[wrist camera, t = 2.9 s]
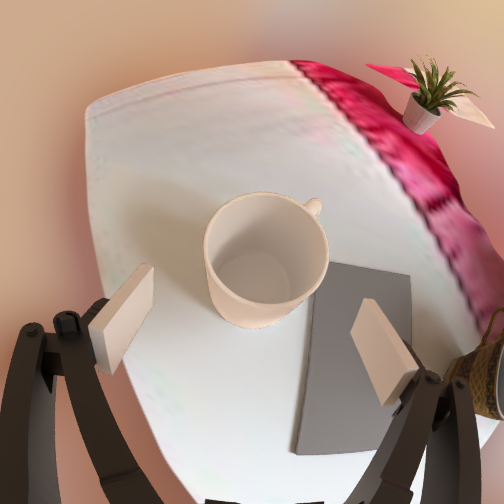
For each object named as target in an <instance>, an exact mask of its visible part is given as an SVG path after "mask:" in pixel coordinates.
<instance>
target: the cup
mask: <svg viewBox="0 0 504 504" xmlns="http://www.w3.org/2000/svg"><path fill="white" fill-rule="evenodd" d="M322 206H323V204H322V202H321V201H320V200H319V199H317V198H313V199H311V200H309V201H308V202H306V203H305V204H304V205H302V204H300V203H299V202H297V201H295V200H293V199H291V198H289V197H286V196H283V195H280V194H276V193H270V192H255V193H248V194H244V195H241V196H238V197H236V198H234V199H232V200H230V201H229V202H227V203H226V204H224V205H223V206H222V207H221V208H220V209H218V210H217V212H216V213H215V214H214V215H213V217H212V218H211V220H210V221H209V223H208V225H207V228H206V231H205V234H204V239H203V254H204V261H205V267H206V274H207V280H208V286H209V292H210V296H211V299H212V302H213V304H214V306H215V308H216V309H217V311H218V312H219V313H220V314H221V316H222V317H224V318H225V319H226V320H227V321H229V322H230V323H232V324H234V325H236V326H239V327H242V328H247V329H261V328H265V327H268V326H271V325H273V324H275V323H277V322H278V321H280V320H281V319H282V318H284V317H285V316H286V315H287V314H289V313H290V312H291V311H292V310H293V309H295V308H296V307H297V306H298V305H299V304H300V303H302V302H303V301H304V300H305V299H306V298H307V297H309V296H310V295H311V294H312V293H313V292H314V291H315V290H316V289H317V288H318V286H319V285H320V284H321V282H322V280H323V279H324V276H325V274H326V271H327V268H328V263H329V245H328V241H327V237H326V234H325V232H324V230H323V228H322V226H321V224H320V223H319V221H318V220H317V217H318V216H319V214H320V212H321V210H322Z"/></svg>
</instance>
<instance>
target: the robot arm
mask: <svg viewBox="0 0 504 504" xmlns="http://www.w3.org/2000/svg"><path fill="white" fill-rule="evenodd" d="M153 287H154V266H153V265H148V264H143V263H142V264H141V265H140V266H139V267H138V269H137V270H136V271H135V272H134V273H133V274H132V275H131V276H130V277H129V278H128V280H127V281H126V282H125V283H124V284H123V285H122V286H121V287H120V289H119V290H118V291H117V292H116V293H115V294H114V295H113V297H112V298H111V299H106V298H102V299H100V300H98V301H96V302H95V303H94V304H93V305H92V306H91V308H89V309H88V310H87V313H85V314H84V315H83V316H82V317H81V318H80V316H79V314H78V313H76V312H73V311H63V312H60V313H58V314H57V315H56V316H55V317H54V319H53V324H54V328H55V331H56V333H46V332H45V331H44V328H43V326H42V325H41V324H38V323H35V322H34V323H29V324H26V325H25V326H23V327H22V329H21V330H20V333H19V336H18V339H17V342H16V345H15V349H14V352H13V356H12V359H11V363H10V367H9V371H8V375H7V379H6V384H5V388H4V394H3V399H2V405H1V411H0V504H61V498H60V491H59V484H58V476H57V468H56V467H57V466H56V452H55V396H56V381H57V375H60V376H65V381H66V385H67V389H68V393H69V397H70V400H71V404H72V407H73V411H74V414H75V417H76V420H77V423H78V426H79V429H80V432H81V435H82V438H83V440H84V443H85V446H86V448H87V450H88V453H89V455H90V458H91V460H92V463H93V465H94V467H95V470H96V472H97V474H98V476H99V479H100V484H101V487H102V489H103V491H104V493H105V495H106V497H107V499H108V501H109V503H110V504H164V503H163V501H162V500H161V498H160V497H159V496H158V494H157V493H156V491H155V490H154V488H153V487H152V485H151V483H150V482H149V480H148V479H147V477H146V476H145V474H144V473H143V471H142V470H141V468H140V467H139V466H138V464H137V462H136V460H135V458H134V457H133V455H132V453H131V451H130V449H129V447H128V445H127V443H126V441H125V440H124V438H123V436H122V434H121V431H120V430H119V427H118V425H117V423H116V421H115V419H114V416H113V414H112V412H111V410H110V407H109V405H108V403H107V400H106V398H105V395H104V393H103V390H102V388H101V385H100V382H99V380H98V377H97V374H96V371H95V368H94V366H95V364H97V368H98V371H99V372H102V373H105V374H108V375H111V376H113V374H114V372H115V370H116V368H117V366H118V365H119V363H120V361H121V359H122V358H123V356H124V354H125V352H126V350H127V349H128V347H129V345H130V343H131V342H132V340H133V338H134V336H135V335H136V333H137V331H138V330H139V328H140V326H141V325H142V323H143V321H144V319H145V318H146V316H147V314H148V313H149V311H150V309H151V308H152V306H153V305H154V293H153ZM350 334H351V336H352V338H353V340H354V342H355V345H356V347H357V349H358V351H359V354H360V356H361V358H362V361H363V363H364V365H365V367H366V370H367V372H368V374H369V377H370V379H371V382H372V384H373V386H374V389H375V391H376V394H377V396H378V399H379V401H380V404H381V406H392V405H394V404H395V402H396V401H397V400H398V398H400V401H401V404H400V405H399V407H398V408H397V409H396V411H395V412H394V413H393V414H392V417H393V416H394V417H393V420H392V422H391V424H390V426H389V428H388V430H387V432H386V434H385V436H384V438H383V440H382V442H381V444H380V446H379V448H378V450H377V452H376V454H375V455H374V457H373V459H372V461H371V463H370V464H369V466H368V468H367V469H366V471H365V473H364V474H363V476H362V478H361V479H360V481H359V482H358V484H357V485H356V487H355V489H354V490H353V492H352V493H351V495H350V496H349V497H348V499H347V500H346V501H345V503H344V504H410V502H411V500H412V497H413V491H410V487H411V484H412V482H413V480H414V477H415V475H416V472H417V469H418V467H419V464H420V461H421V459H422V456H423V453H424V450H425V447H426V444H427V447H426V462H425V472H424V481H423V489H422V496H421V502H420V504H481V460H480V447H479V438H478V430H477V423H476V417H475V411H474V405H473V400H472V395H471V390H470V386H469V384H468V382H467V381H466V380H465V379H464V378H463V377H460V376H455V377H453V378H452V380H451V381H450V383H449V382H443V381H441V379H440V377H439V376H438V375H437V374H436V373H434V372H432V371H426V369H425V368H424V366H423V365H422V363H421V362H420V360H419V358H418V357H417V356H416V354H415V352H413V349H412V348H411V346H410V345H409V344H408V343H407V342H406V341H405V340H403V339H401V338H400V337H399V335H398V334H397V332H396V331H395V329H394V328H393V326H392V325H391V323H390V322H389V320H388V319H387V317H386V316H385V314H384V313H383V312H382V310H381V309H380V307H379V306H378V304H377V303H376V301H375V300H374V299H368V298H364V299H363V302H362V304H361V307H360V310H359V312H358V315H357V317H356V320H355V322H354V324H353V327H352V329H351V332H350ZM205 504H239V503H236V502H225V501H217V500H209V499H205ZM297 504H324V501H322V502H311V503H297Z"/></svg>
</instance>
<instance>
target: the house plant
mask: <svg viewBox="0 0 504 504" xmlns="http://www.w3.org/2000/svg"><path fill="white" fill-rule="evenodd" d="M427 57H428V56H427ZM419 58H420V57H419ZM420 59H421V58H420ZM429 60H430V62H431V64H432V65H431V66H432V74H431V73H430V71H429V70H428V69H427V71H426V68H425V65H424V63H423V61H422V60H421V61H422V63H423V66H424V69H425V73H426V78H427V86H428V90H427V88H426V84H425V81H424V78H423V75H422V73H421V71H420V70H419V68H418V66H417V65H416V64H415V62H414V61H413V60H411V62H412V63H413V66H414V70H415V73H416V75H417V76H416V75H415V74H413V73H409V74H412V75H413V76H414V77H415V78H417V80H418V81H416V80H415V79H414V80H415V81H416V82H417V83H418V84H419V85H420V90H417V91H415V92H413V93H412V94H411V96H410V99H409V102H408V105H407V107H406V110H405V113H404V115H403V118H402V120H403V123H404V124H405V125H406V126H407V127H408V128H409V129H410V130H411V131H413V132H414V133H417V134H421V135H422V134H423V133H424V132H425V131H426V130H427V129H429V128H430V126H432V125H433V124H434V123H435V122H436V121H437V120H438V119H439V118H440V117H441V111H440V110H439V108H438V107H446V108H447V109H448V110H450V109H451V110H453V108H452V107H451V106H449V105H447V104H450V105H453V106H455V107H457V106H456V104H455V103H454V102H453V101H450V100H444V99H447V98H450V97H457V96H451V95H454V94H458V93H471V94H474V95H476V94H475V93H473V92H471V91H468V90H456V91H454V92H451V93H448V94H446V95H445V93H446V92H447V91H448V90H450V89H452V87H453V86H455V85H456V84H457V83H458V82H453V83H451V84H450V85H449V86H447V87H446V86H444V85H445V84H446V83H447V81H448V80H449V79H450V78H452V77H453V75H454V73H455V71H452V72H450V73H448V67H447V70H446V72H445V74H444V75H443V76H442V79H441V81H440V83H439V84H438V73H437V72H438V68H437V70H436V67H435V65H434V63H433V62H432V60H431V59H430V58H429ZM435 63H436V62H435ZM433 79H434V81H433ZM437 84H438V86H437ZM460 84H461V83H460ZM463 85H464V84H463ZM416 92H418V93H416ZM419 93H420V94H419ZM458 96H463V95H458ZM476 96H477V95H476ZM477 97H478V96H477ZM441 100H444V101H441ZM448 110H447V111H448ZM453 111H454V110H453ZM458 111H459V110H458Z"/></svg>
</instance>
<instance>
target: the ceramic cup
mask: <svg viewBox="0 0 504 504" xmlns="http://www.w3.org/2000/svg"><path fill="white" fill-rule="evenodd" d="M499 311H503V312H504V308H503V307H501V308H498V309H497V310H496V311H495V312H494V314H493V316H492V318H491V321H490V324H489V327H488V329H487V331H486V333H485V335H484V336H483V339H482V341H481V343H480V344H479V346H478V347H477V348H476V350H475V351H473V352H471V353H469V354H467V355H465V356H462V357H460V358H458V359H455V360H454V361H453V362H452V364H451V366H450V367H449V369H448V371H447V373H446V375H445V376H444V382H449V383H450V381H451V380H452V378H453V377H455V376H460V377H463V378H464V379H465V380H466V381H467V382H468V384H469V386H470V390H471V395H472V400H473V405H474V411H475V414H478V415H481V416H484V417H487V418H491V419H496V420H503V421H504V329H503V331H502V333H501V334H500V335H499V336H498V337H497V338H496V339H495V340H494V341H493V342H491V343H490V344H487V345H486V344H485V341H486V338H487V336H488V334H489V332H490V331H491V328H492V326H493V323H494V320H495V317H496V315H497V314H498V312H499Z"/></svg>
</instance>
